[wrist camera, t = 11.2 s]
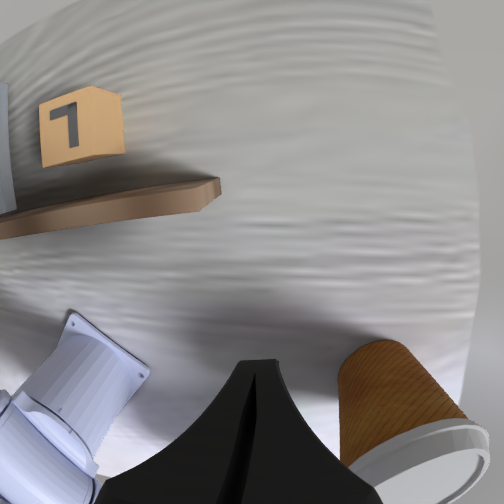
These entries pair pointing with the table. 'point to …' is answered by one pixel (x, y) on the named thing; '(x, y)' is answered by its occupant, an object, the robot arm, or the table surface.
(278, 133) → the table surface
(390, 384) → the disposable coffee cup
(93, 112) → the letter cube
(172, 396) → the table surface
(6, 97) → the slate cover
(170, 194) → the walnut track wall
